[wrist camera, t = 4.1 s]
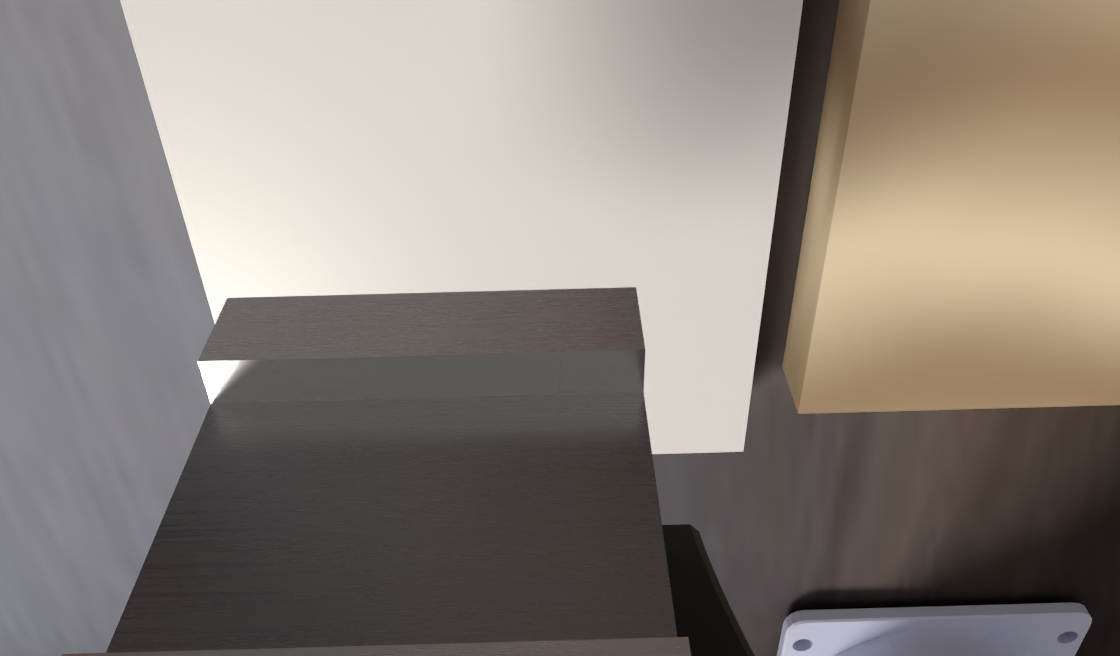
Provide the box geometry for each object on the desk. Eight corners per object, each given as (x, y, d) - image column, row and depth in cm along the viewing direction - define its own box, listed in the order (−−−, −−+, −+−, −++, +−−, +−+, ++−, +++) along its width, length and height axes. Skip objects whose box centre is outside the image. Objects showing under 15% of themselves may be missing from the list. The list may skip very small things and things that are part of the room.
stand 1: (730, 403, 21) (743, 451, 19) (272, 416, 21) (256, 465, 19) (788, -83, 15) (811, -57, 14) (143, -67, 15) (108, -40, 13)
